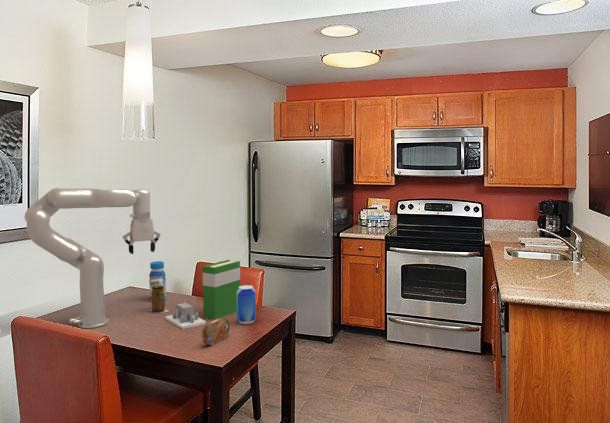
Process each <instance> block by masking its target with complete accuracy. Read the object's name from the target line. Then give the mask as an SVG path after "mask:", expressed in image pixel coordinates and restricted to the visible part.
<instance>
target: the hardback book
mask: <svg viewBox="0 0 610 423" xmlns="http://www.w3.org/2000/svg"><path fill="white" fill-rule="evenodd" d="M239 286H241V261H240V260H237V261H231V260H230V259H225V260H221V261H218V262H213V263H210V264H206V265H202V295H203V296H202V297H203V298H202V299H203V301H202V303H203V305H202V306H203V307H202V308H203V318H207V319H210V320H211V319H212V320H216V319H218V318H224V317H226V316H228V315H230V314H233V313H235V312H236V313H237V291H238V289H239Z"/></svg>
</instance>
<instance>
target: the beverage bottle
mask: <svg viewBox="0 0 610 423" xmlns="http://www.w3.org/2000/svg"><path fill="white" fill-rule="evenodd" d="M149 265H150V266H149V267H150V273H149V279H148V282H149V300H150V302H152V294H151V293H152V287H153V286H156V285H162V286H163V289H164V290H163V291H164V293H165V301H166V300H167V278H166V272H165V270H164V268H165V262H164V261H162V260H161V261H160V260H159V261H157V260H156V261H151V262H150V264H149Z"/></svg>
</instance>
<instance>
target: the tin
mask: <svg viewBox="0 0 610 423" xmlns="http://www.w3.org/2000/svg"><path fill="white" fill-rule="evenodd" d="M229 331H230V322H229V320H228V319H227V317H221V318H218V319H216V320H215V319H213V320H212V321H210V322H208V323H206V324H204V327H203V328H202V332H201V338H202V339H201V340H202V342H203V343H204V344H206V345H208V346H209V345H210V346H214V345H216V344H218V343H219V342H221V341H222V340H224V339H226V338H227V337H228V335H229Z"/></svg>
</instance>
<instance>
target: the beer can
mask: <svg viewBox="0 0 610 423" xmlns="http://www.w3.org/2000/svg"><path fill="white" fill-rule="evenodd" d="M256 299H257V298H256V289H255V288H254V285H249V284H245V285H240V286H239V289H238V291H237V311H236V320H237V321H238V323H239V324H241V325H250V324H254V322H255V321H256V318H257V308H256V306H257V303H256Z"/></svg>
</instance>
